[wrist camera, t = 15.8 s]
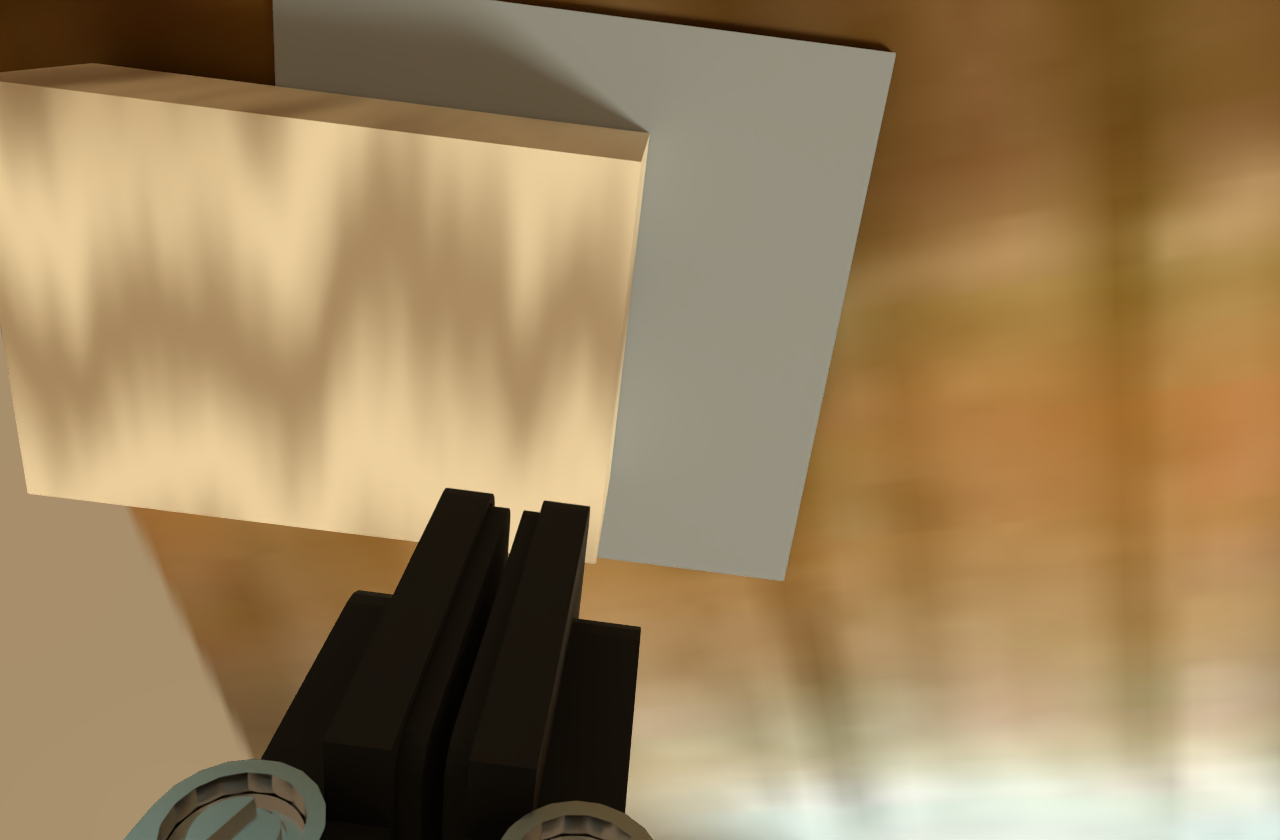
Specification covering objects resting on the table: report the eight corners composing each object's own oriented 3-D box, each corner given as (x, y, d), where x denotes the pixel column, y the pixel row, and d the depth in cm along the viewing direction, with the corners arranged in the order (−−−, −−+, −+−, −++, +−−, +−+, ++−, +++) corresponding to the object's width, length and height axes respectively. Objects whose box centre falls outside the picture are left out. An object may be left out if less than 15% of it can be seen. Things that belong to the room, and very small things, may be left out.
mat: (277, -29, 22) (271, -29, 21) (893, 52, 22) (896, 53, 21) (293, 512, 27) (289, 517, 27) (782, 575, 27) (783, 581, 27)
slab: (649, 132, 22) (94, 63, 22) (641, 162, 18) (-41, 76, 18) (610, 475, 26) (131, 415, 26) (595, 563, 22) (27, 493, 22)
